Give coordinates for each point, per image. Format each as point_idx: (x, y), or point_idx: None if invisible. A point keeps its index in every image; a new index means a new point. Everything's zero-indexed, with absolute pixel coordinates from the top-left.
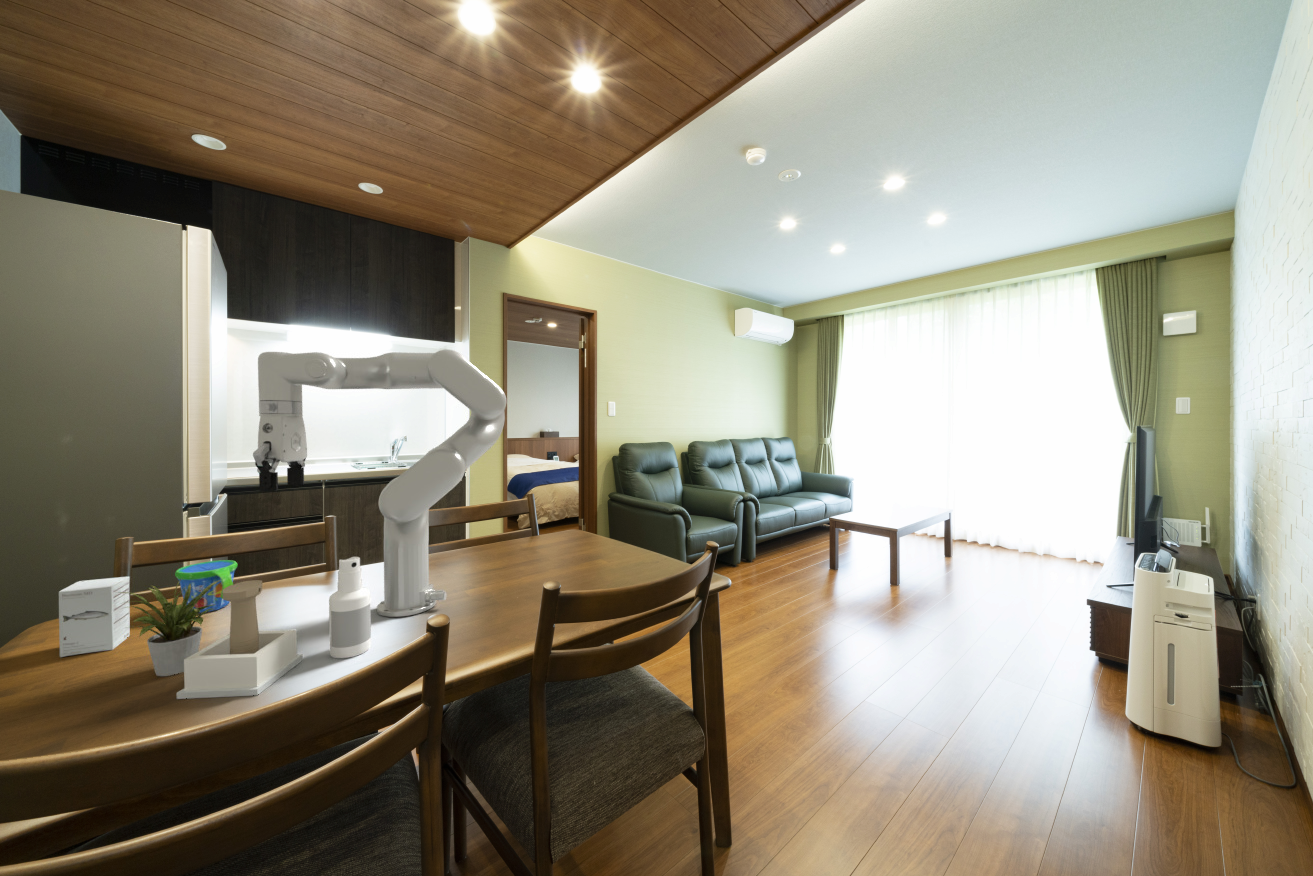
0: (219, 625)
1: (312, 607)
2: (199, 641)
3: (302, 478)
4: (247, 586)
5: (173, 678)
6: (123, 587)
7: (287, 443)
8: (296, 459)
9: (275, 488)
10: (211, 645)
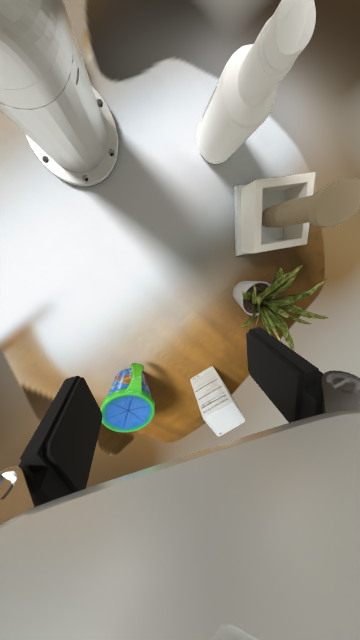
0: (165, 335)
1: (107, 284)
2: (248, 283)
3: (66, 397)
4: (341, 195)
5: (257, 279)
6: (212, 406)
7: None
8: (189, 463)
9: (263, 332)
10: (282, 245)
